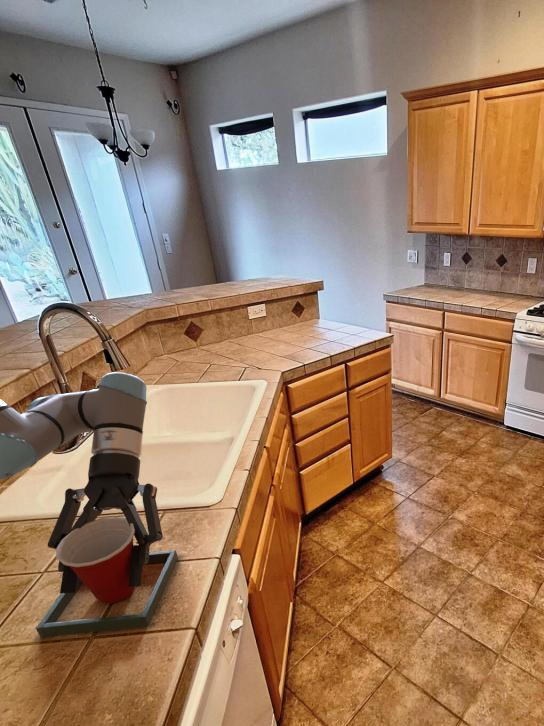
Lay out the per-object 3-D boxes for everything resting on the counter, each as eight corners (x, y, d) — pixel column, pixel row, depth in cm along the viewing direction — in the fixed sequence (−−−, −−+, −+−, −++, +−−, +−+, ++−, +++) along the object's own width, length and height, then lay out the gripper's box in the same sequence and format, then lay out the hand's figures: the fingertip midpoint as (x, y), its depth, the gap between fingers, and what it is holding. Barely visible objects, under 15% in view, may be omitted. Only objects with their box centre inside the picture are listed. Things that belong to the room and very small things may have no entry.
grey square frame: (42, 642, 67) (35, 628, 65) (91, 570, 80) (86, 557, 79) (150, 630, 69) (145, 616, 67) (179, 562, 83) (175, 550, 81)
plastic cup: (63, 618, 69) (36, 561, 64) (102, 569, 79) (82, 516, 73) (132, 617, 69) (111, 561, 64) (162, 569, 79) (146, 516, 74)
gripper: (33, 454, 71) (8, 597, 64) (173, 447, 74) (164, 582, 68) (61, 466, 78) (41, 596, 71) (188, 458, 81) (181, 582, 75)
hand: (101, 589), depth 69 cm, fingers closed on plastic cup, 9 cm apart
